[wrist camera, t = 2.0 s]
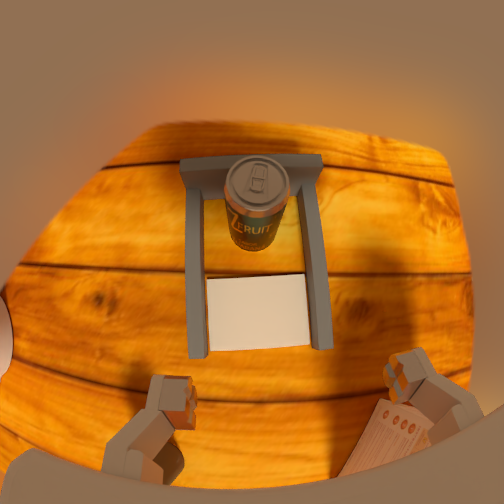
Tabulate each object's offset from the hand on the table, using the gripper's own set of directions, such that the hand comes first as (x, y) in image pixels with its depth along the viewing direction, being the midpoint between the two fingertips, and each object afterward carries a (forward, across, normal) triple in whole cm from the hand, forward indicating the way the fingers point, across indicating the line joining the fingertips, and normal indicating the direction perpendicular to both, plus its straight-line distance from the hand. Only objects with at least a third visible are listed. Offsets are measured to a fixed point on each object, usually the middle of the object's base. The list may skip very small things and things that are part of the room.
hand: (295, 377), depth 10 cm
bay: (+20, +1, +8) cm, 22 cm away
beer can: (+23, +1, +5) cm, 24 cm away
